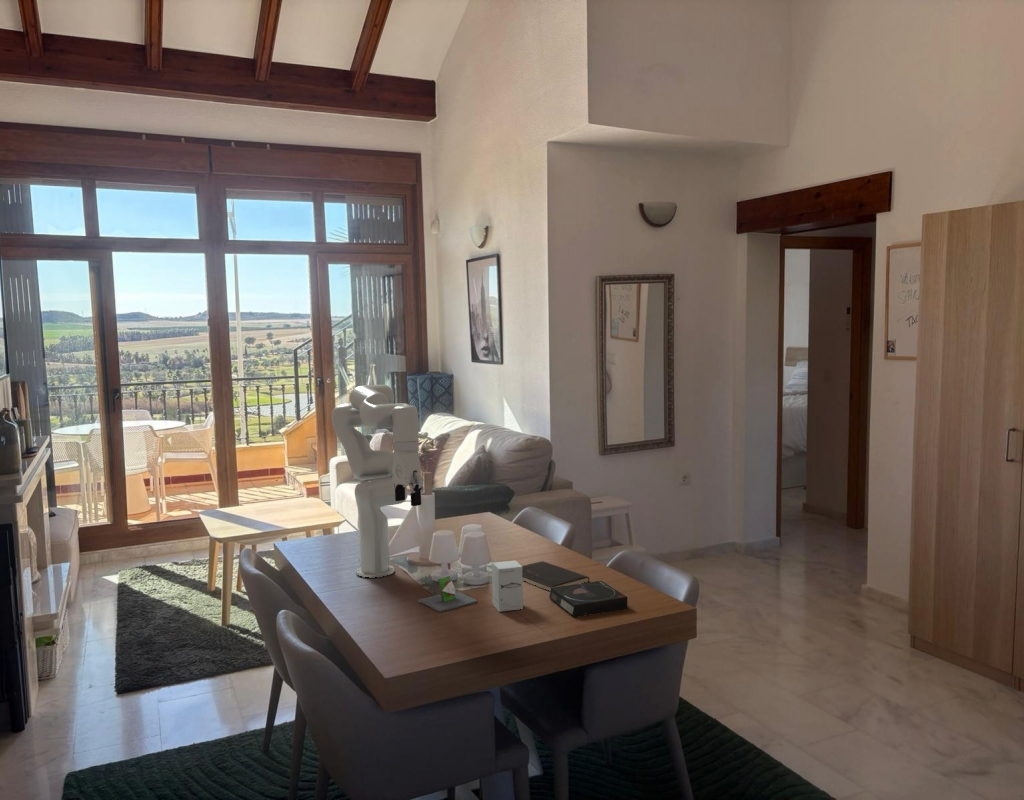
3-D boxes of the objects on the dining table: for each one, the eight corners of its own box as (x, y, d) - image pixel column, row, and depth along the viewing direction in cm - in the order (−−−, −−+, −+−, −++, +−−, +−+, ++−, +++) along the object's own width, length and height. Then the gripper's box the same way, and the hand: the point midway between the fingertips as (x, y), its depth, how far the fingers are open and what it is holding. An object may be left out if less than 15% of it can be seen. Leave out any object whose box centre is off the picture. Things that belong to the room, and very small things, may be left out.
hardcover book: (550, 593, 242) (550, 586, 242) (505, 576, 260) (505, 569, 260) (589, 583, 251) (589, 576, 251) (544, 567, 270) (543, 560, 270)
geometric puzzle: (426, 591, 236) (435, 573, 232) (444, 586, 241) (454, 568, 237) (439, 610, 233) (449, 592, 229) (457, 604, 237) (467, 586, 233)
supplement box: (498, 612, 225) (497, 568, 224) (492, 604, 232) (491, 561, 231) (523, 609, 227) (522, 566, 226) (516, 601, 234) (515, 559, 233)
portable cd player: (549, 601, 235) (549, 588, 235) (601, 593, 241) (601, 580, 240) (572, 619, 219) (572, 605, 219) (627, 610, 225) (627, 596, 225)
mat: (418, 601, 236) (418, 599, 236) (455, 592, 244) (455, 590, 243) (439, 612, 226) (439, 610, 226) (477, 602, 234) (477, 600, 234)
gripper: (381, 445, 244) (383, 500, 245) (409, 450, 230) (411, 509, 231) (403, 442, 248) (405, 497, 249) (431, 448, 234) (433, 505, 235)
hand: (408, 503), depth 240 cm, fingers open, 9 cm apart
